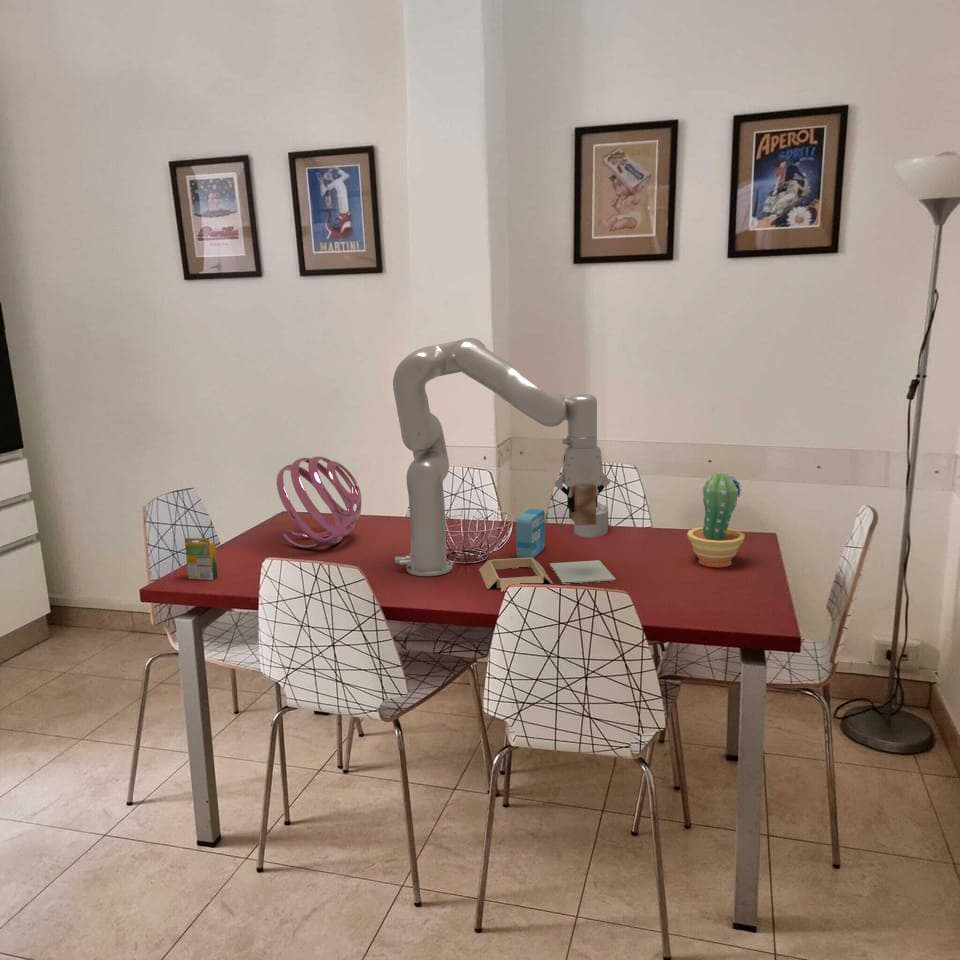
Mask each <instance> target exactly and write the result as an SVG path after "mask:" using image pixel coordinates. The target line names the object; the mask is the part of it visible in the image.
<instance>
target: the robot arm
mask: <svg viewBox="0 0 960 960" xmlns="http://www.w3.org/2000/svg"><path fill="white" fill-rule="evenodd" d="M457 373H461V374H462V373H463V374H464V375H465V376H467V377H468V378H471V380H473V381H475V382H477V383H479V384H481V385H482V386H483V387H485V388H486V389H488V390H490V391H492V392H493V393H494V394H496V395H498V396H499V397H500V398H501V399H503V400H504V401H506V402H507V403H508V404H510V405H511V406H513V407H514V408H515V409H517V410H518V411H519V412H521V413H523V414H524V415H525V416H527V417H528V418H530V419H532V420H533V421H536V423H539V424H540V425H541V426H544V427H549V428H553V427H557V426H560V425H561V424H562V423H563V421H567V436H566V437H565V438H562V440H561V443H562V445H566V446H567V447H565V449H564V453H563V460H562V462H563V463H562V472H561V474H560V476H559V477H558V478H557V479H556V481H555V482H554V486H555V487H556V488H557V489H559V490H560V492H561V491H562V492H563V493H564V494H565V495H566V497H567V499H566V501H567V505H566V506H567V509H568V511H569V510H570V511H571V512H574V497H573V493H574V487H576V486H592V485H595V486H596V507H597V502H598V497H599V496H600V493H601V492H603V490H604V489H605V488H606V487H608V486H609V485H610V483H611V481H610V479H609V478H608V476H606V475H605V473H604V468H603V466H604V465H603V457H602V451H601V447H600V446H598V399H597V397H596V396H595V395H593V394H588V393H586V394H585V393H584V394H583V393H580V394H579V393H578V394H564V393H556V392H555V393H554V392H553V393H548V392H546V391H544V390H543V389H541V388H539V387H538V386H536V385H535V384H533V383H532V382H530V380H529V379H527V378H526V377H525V376H524V374H523V373H522V372H521V370H519V368H518V367H516V366H515V365H514V364H513V363H510V362H509V361H507V360H506V359H504V358H502V357H501V356H499V355H497V354H495V353H494V352H492V351H491V350H489V349H488V348H486V345H485V344H484V343H483V342H482V341H481V340H480V339H478V338H475V337H468V338H467V337H466V338H463V339H459V340H454V341H449V342H444V343H440V344H433V345H428V346H425V347H422V348H419V349H416V350H414V351H413V352H411V353H410V354H408V355H407V356H406V357H404V359H402V360H401V361H400V363H398V365H397V367H396V369H395V371H394V374H393V379H392V387H393V396H394V401H395V405H396V413H397V418H398V423H399V428H400V433H401V438H402V442H403V444H404V445H405V447H406V448H407V449H408V450H410V451H411V452H412V455H413V461H412V462H411V463H410V465H409V466H408V469H407V472H406V477H405V478H406V488H407V494H408V505H409V506H408V507H409V510H408V511H409V525H410V526H409V527H410V529H409V530H410V549H411V551H409V554H406V555H404V556H400V555H399V556H394V563H395V564H399V566H405V565H406V566H405V567H406V569H405V571H406V572H407V573H408V574H410V575H413V576H418V577H435V576H442V575H445V574H448V573H450V572H451V571H452V570H453V563H452V562H451V561H449V560H447V537H446V536H447V533H446V532H447V531H446V511H445V510H446V509H445V494H444V481H445V479H446V478H447V476H448V474H449V470H450V462H449V455H448V451H447V446H446V441H445V436H444V430H443V427H442V423H441V421H440V420H439V418H438V417H437V416H436V415H435V414H433V413H432V412H431V410H430V405H429V398H428V395H427V392H426V384H427V383H428V382H429V381H431V380H434V379H436V378H438V377H443V376H447V375H453V374H457ZM563 484H565V486H567V487H565V486H564V485H563Z"/></svg>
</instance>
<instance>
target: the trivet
mask: <svg viewBox="0 0 960 960" xmlns="http://www.w3.org/2000/svg"><path fill="white" fill-rule="evenodd" d="M549 567H550V568H551V567H552V568H553V569H552V568H551V569H552V571H553V570H554V571H555V572H554V571H553V572H554V574H555V573H556V574H557V575H556V574H555V575H556V576H558V577H559V578H558V577H557V578H558V580H559V579H560V580H561V581H560V580H559V581H560V583H561V582H562V583H561V584H562V585H563V584H565V585H571V584H570V583H565V582H574V583H580V584H584V583H583V582H586V583H585V584H588V583H587V582H594V581H595V583H601V582H600V581H610V582H613V581H612V580H616V577H615V576H614V575H613V574H612V573H611V572H610V570H609V569H607V567H606V566H605V565H604V564H603V563H602V562H601V560H584V561H568V562H551V563H549ZM596 581H597V582H596Z"/></svg>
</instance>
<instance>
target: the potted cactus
mask: <svg viewBox="0 0 960 960" xmlns="http://www.w3.org/2000/svg"><path fill="white" fill-rule="evenodd" d="M741 492H742V485H741V483H740V481H739V480H738V479H737V478H736V477H735V476H731V475H730V474H729V473H728V472H726V473H723V472H721V471H719V472H717V473H716V472H713V473H712V474H711V475H710V477H709V478H707V480H706V481H705V483H704V485H703V487H702V498H703V501H702V502H703V506H704V517H703V518H704V520H703V526H702V527H695V528H693V529H689V530H688V531H687V533H686V536H687V540H688V541H690V543H691V546H692V549H693V552H694V553H695V554H696V556H697V557H698V561H697V562H698V564H700V565H702V566H706V567H709V568H724V567H725V568H726V567H728V566H732V560H733V558H734V557H735V556H737V555H736V554H737V553H738V550H739V549H740V546H741V545H742V544H743V543H744V539H745V533H743V532H741V531H739V530H737V529H733V528H729V525H730V521H731V518H732V514H733V513H734V511H735V508H736V506H737V504H738V503H737V502H738V498H740V497H741Z"/></svg>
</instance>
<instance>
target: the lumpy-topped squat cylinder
mask: <svg viewBox="0 0 960 960" xmlns="http://www.w3.org/2000/svg"><path fill="white" fill-rule="evenodd" d="M573 532H574V534H575V535H577V536H580V537H584V538H597V537H602V536H604V535H607V534H608V533H609V508H608V506H607V505H606V504H602V503H601V502H598V501H597V507H596V524H594V525H578V526H577V525H576V524H575V522H574V521H573Z"/></svg>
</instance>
